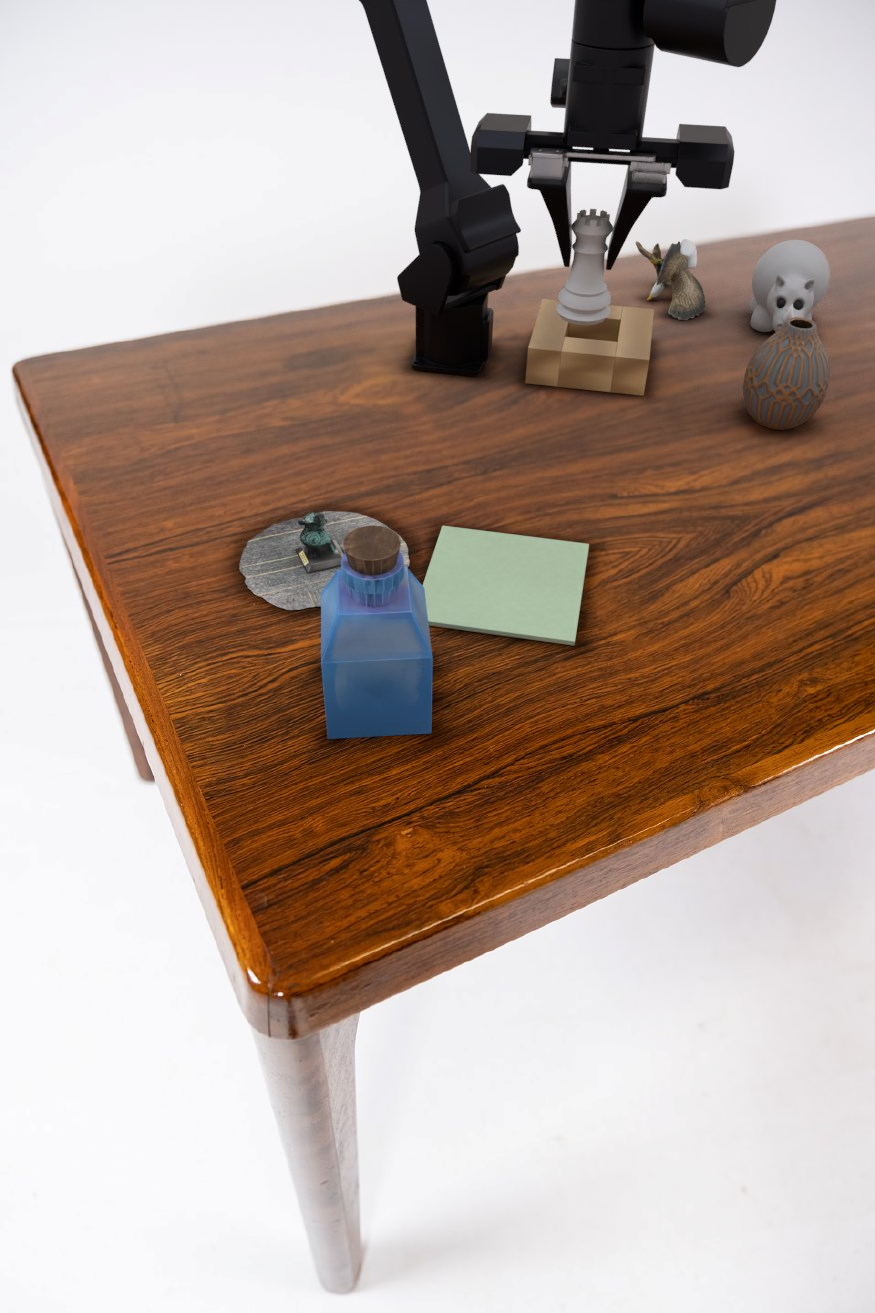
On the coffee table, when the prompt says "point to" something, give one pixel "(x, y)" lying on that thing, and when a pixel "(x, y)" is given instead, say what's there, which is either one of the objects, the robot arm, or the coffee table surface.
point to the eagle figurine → (677, 278)
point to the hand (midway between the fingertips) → (588, 266)
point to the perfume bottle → (375, 642)
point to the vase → (787, 376)
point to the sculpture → (300, 557)
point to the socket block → (591, 351)
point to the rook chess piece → (587, 272)
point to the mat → (506, 584)
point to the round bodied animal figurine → (787, 284)
